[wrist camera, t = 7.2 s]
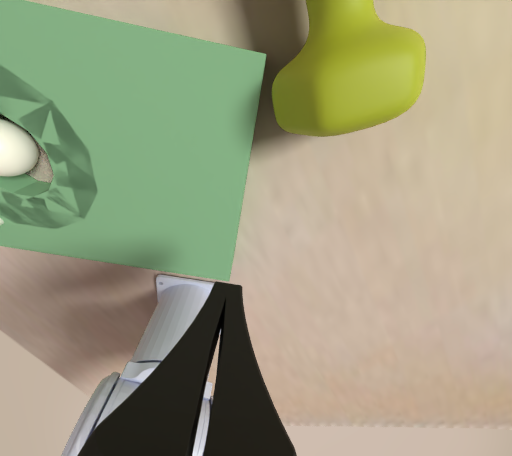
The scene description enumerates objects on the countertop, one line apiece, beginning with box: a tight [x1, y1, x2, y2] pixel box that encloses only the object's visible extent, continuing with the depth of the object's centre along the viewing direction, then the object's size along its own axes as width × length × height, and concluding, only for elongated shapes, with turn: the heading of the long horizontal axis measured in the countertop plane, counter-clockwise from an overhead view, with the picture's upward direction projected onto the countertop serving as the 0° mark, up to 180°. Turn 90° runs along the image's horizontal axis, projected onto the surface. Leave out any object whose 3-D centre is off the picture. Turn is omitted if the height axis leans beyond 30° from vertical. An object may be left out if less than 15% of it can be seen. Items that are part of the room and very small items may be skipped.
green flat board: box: [0, 0, 266, 281], centre depth 18 cm, size 18×23×2 cm
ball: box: [0, 119, 39, 177], centre depth 17 cm, size 4×4×4 cm
